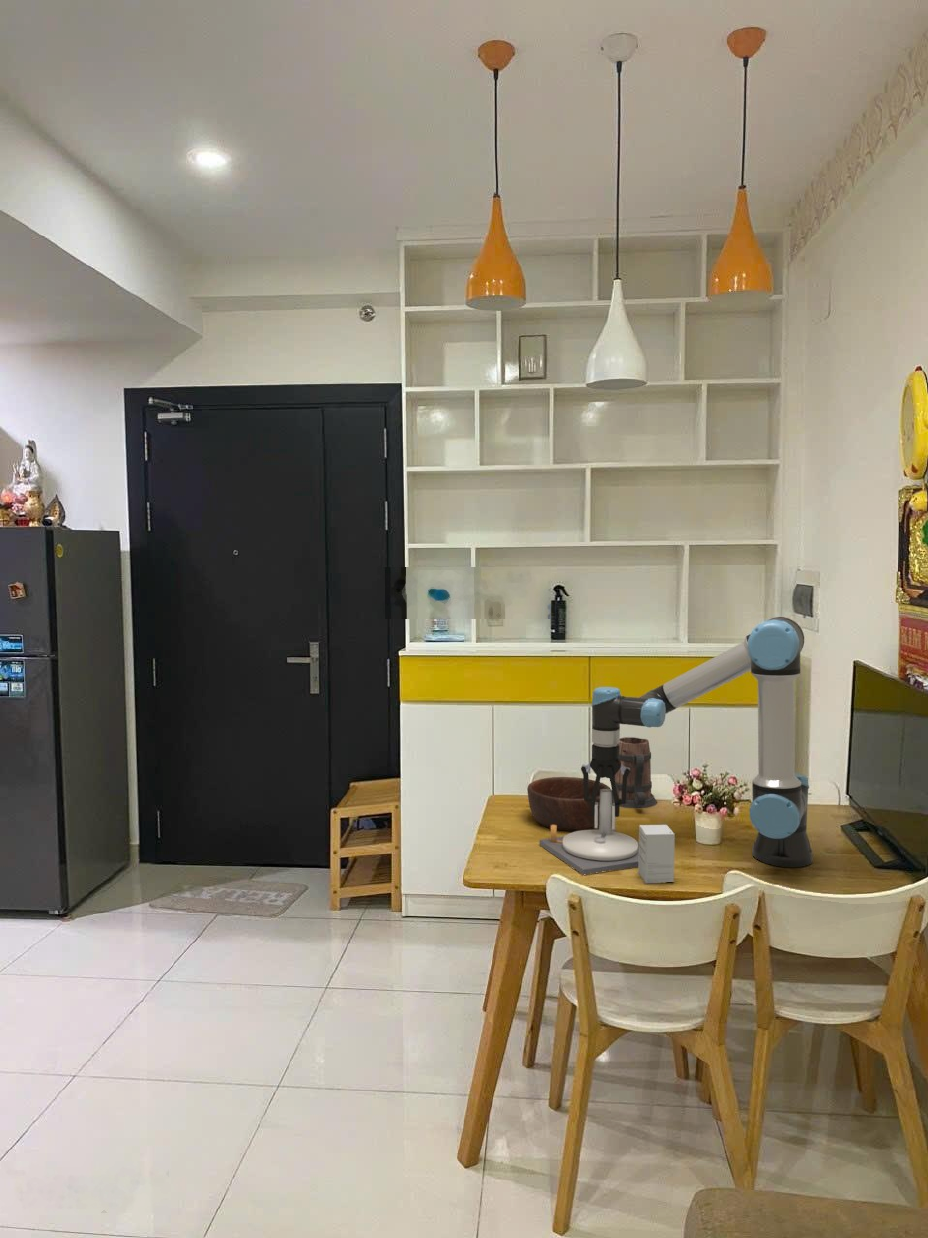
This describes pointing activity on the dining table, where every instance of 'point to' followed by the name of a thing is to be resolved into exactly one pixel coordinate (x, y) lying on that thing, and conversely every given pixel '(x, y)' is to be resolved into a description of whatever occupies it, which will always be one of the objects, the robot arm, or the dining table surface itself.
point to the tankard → (636, 773)
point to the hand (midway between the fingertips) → (604, 827)
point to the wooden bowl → (563, 803)
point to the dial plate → (582, 864)
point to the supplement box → (656, 853)
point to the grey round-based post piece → (601, 837)
